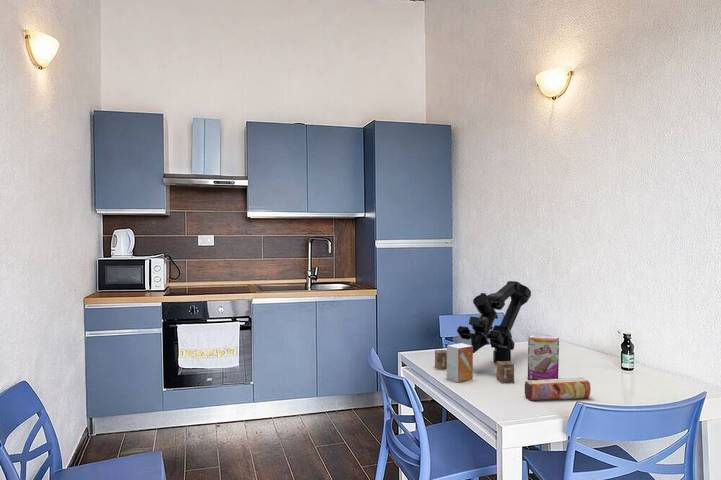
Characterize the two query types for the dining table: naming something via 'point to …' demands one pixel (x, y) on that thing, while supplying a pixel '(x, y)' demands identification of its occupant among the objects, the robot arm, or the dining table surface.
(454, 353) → the small box
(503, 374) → the walnut block seven
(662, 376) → the dining table surface
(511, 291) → the robot arm
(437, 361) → the walnut block one
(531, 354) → the candy bar box
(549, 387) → the snack package
